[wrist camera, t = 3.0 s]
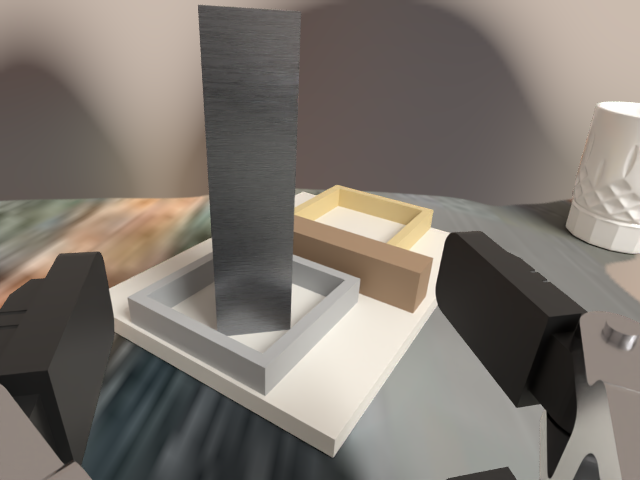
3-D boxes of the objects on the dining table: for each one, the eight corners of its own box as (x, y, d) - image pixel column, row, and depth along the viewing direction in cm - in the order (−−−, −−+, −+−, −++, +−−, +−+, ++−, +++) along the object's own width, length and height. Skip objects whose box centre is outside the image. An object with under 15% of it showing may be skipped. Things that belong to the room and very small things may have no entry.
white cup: (671, 270, 32) (738, 130, 28) (552, 240, 36) (594, 111, 31) (662, 231, 38) (715, 112, 34) (561, 208, 42) (597, 97, 37)
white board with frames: (333, 458, 17) (340, 389, 15) (88, 316, 24) (75, 259, 22) (473, 252, 33) (484, 208, 31) (302, 202, 39) (303, 163, 38)
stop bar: (217, 337, 21) (198, 5, 15) (215, 295, 24) (198, 5, 18) (290, 329, 22) (300, 11, 16) (279, 290, 25) (284, 10, 19)
